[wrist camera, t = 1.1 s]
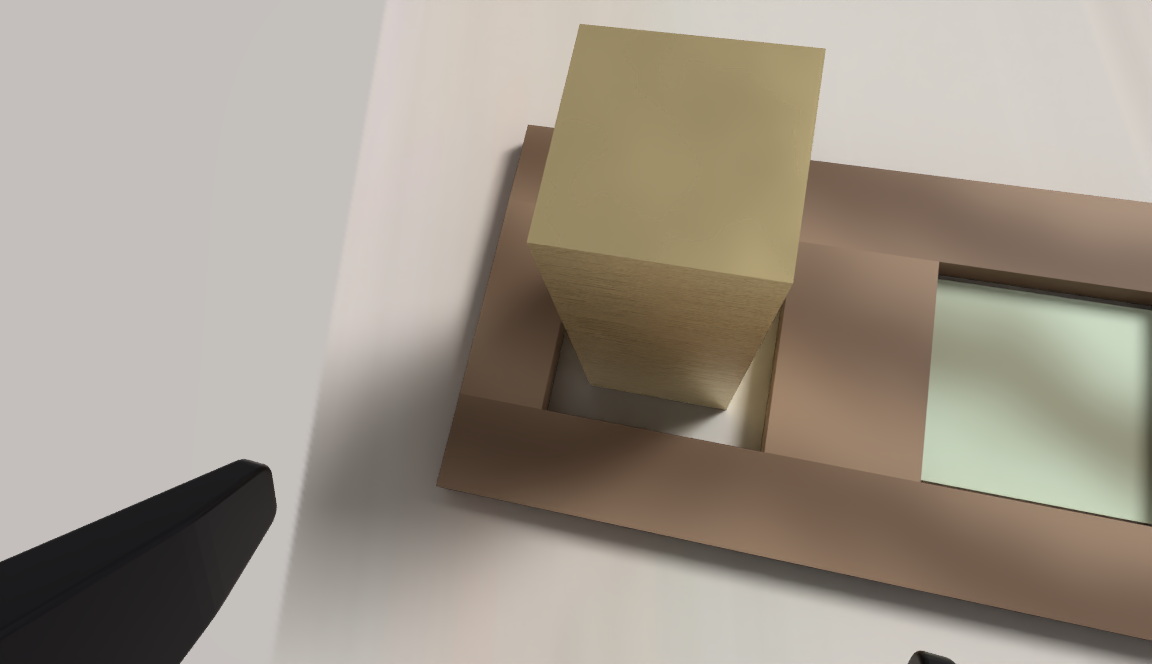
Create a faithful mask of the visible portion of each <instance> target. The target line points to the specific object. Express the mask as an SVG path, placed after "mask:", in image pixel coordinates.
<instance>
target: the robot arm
mask: <svg viewBox="0 0 1152 664" xmlns="http://www.w3.org/2000/svg"><path fill="white" fill-rule="evenodd" d="M276 508H277V505H276V498H275V491H274V484H273V478H272V472H271V470H270V468H269V467H268V466H267V465H265V464H261V463H258V462H254V461H251V460H246V459H241V460H238V461H235V462H232V463H230V464H228V465H225V466H223V467H221V468H218V469H216V470H214V471H211V472H209V473H207V474H204V475H202V476H200V477H197V478H195V479H193V480H190V481H188V482H186V483H183V484H181V485H179V486H176V487H174V488H172V489H169V490H167V491H165V492H162V493H160V494H158V495H155V496H153V497H151V498H148V499H146V500H144V501H142V502H139V503H137V504H134V505H132V506H130V507H128V508H125V509H123V510H121V511H118V512H116V513H114V514H111V515H109V516H106V517H104V518H102V519H99V520H97V521H95V522H93V523H90V524H88V525H86V526H83V527H81V528H78V529H76V530H74V531H71V532H69V533H67V534H65V535H62V536H60V537H57V538H55V539H53V540H50V541H48V542H46V543H43V544H41V545H39V546H36V547H34V548H32V549H30V550H27V551H25V552H22V553H20V554H18V555H16V556H13V557H11V558H8V559H6V560H4V561H1V562H0V664H180V663H181V661H182V660H183V659H184V657H185V656H186V655H187V653H188V652H189V651H190V649H191V648H192V647H193V645H194V644H195V643H196V641H197V640H198V639H199V637H200V636H201V635H202V633H203V632H204V630H205V629H206V628H207V627H208V625H209V624H210V622H211V621H212V620H213V618H214V617H215V615H216V614H217V612H218V611H219V609H220V608H221V606H222V605H223V603H224V602H225V600H226V598H227V597H228V595H229V593H230V592H231V590H232V588H233V587H234V585H235V584H236V582H237V580H238V579H239V577H240V575H241V574H242V572H243V570H244V569H245V567H246V565H247V563H248V562H249V560H250V559H251V557H252V555H253V554H254V552H255V550H256V549H257V547H258V546H259V544H260V542H261V541H262V539H263V537H264V536H265V534H266V532H267V531H268V529H269V527H270V526H271V524H272V522H273V520H274V517H275V514H276ZM908 664H955V663H954V662H953V661H952V660H950V659H948V658H946V657H943V656H939V655H936V654H932V653H928V652H925V651H917V652H915V653H914V654H913V655H912V657H911V658H910V660H909V662H908Z"/></svg>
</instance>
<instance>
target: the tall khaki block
mask: <svg viewBox="0 0 1152 664" xmlns="http://www.w3.org/2000/svg"><path fill="white" fill-rule="evenodd" d="M825 50H826V49H823V48H813V47H803V46H793V45H783V44H773V43H764V42H754V41H744V40H734V39H724V38H714V37H704V36H694V35H684V34H674V33H664V32H654V31H644V30H634V29H624V28H614V27H605V26H595V25H585V24H580V25H579V29H578V34H577V38H576V42H575V46H574V50H573V54H572V58H571V62H570V66H569V71H568V75H567V79H566V83H565V87H564V91H563V95H562V99H561V103H560V107H559V112H558V116H557V120H556V124H555V128H554V132H553V136H552V140H551V144H550V149H549V153H548V157H547V161H546V165H545V169H544V173H543V177H542V181H541V186H540V190H539V194H538V198H537V202H536V206H535V210H534V214H533V218H532V222H531V227H530V231H529V235H528V239H527V244H528V247H529V249H530V251H531V253H532V255H533V258H534V260H535V262H536V264H537V267H538V269H539V271H540V273H541V276H542V278H543V280H544V282H545V285H546V287H547V289H548V291H549V294H550V296H551V298H552V300H553V302H554V305H555V307H556V309H557V311H558V314H559V316H560V318H561V320H562V323H563V325H564V327H565V329H566V332H567V334H568V336H569V338H570V341H571V343H572V345H573V347H574V349H575V352H576V354H577V356H578V358H579V361H580V363H581V365H582V367H583V370H584V372H585V374H586V376H587V379H588V381H589V383H590V385H593V386H598V387H604V388H609V389H614V390H620V391H625V392H631V393H636V394H641V395H647V396H652V397H658V398H663V399H668V400H674V401H679V402H685V403H690V404H696V405H701V406H706V407H712V408H717V409H723V410H726V409H727V407H728V405H729V404H730V402H731V400H732V398H733V396H734V394H735V392H736V390H737V388H738V387H739V385H740V383H741V381H742V379H743V377H744V375H745V373H746V371H747V370H748V368H749V366H750V364H751V362H752V360H753V358H754V356H755V354H756V353H757V351H758V349H759V347H760V345H761V343H762V341H763V339H764V337H765V336H766V334H767V332H768V330H769V328H770V326H771V324H772V322H773V320H774V319H775V317H776V315H777V313H778V311H779V309H780V307H781V305H782V303H783V301H784V300H785V298H786V296H787V294H788V292H789V290H790V288H791V286H792V284H793V280H794V273H795V266H796V259H797V252H798V244H799V237H800V230H801V223H802V215H803V208H804V201H805V194H806V187H807V179H808V172H809V165H810V158H811V151H812V143H813V136H814V129H815V122H816V114H817V107H818V100H819V93H820V86H821V78H822V71H823V64H824V57H825Z"/></svg>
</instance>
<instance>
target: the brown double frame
mask: <svg viewBox="0 0 1152 664" xmlns="http://www.w3.org/2000/svg"><path fill="white" fill-rule="evenodd" d="M553 132H554V128H550V127H542V126H534V125H528V127H527V131H526V135H525V139H524V143H523V147H522V151H521V155H520V159H519V162H518V166H517V170H516V174H515V178H514V182H513V186H512V190H511V194H510V198H509V202H508V206H507V210H506V214H505V217H504V221H503V225H502V229H501V233H500V237H499V241H498V245H497V249H496V253H495V257H494V261H493V265H492V268H491V272H490V276H489V280H488V284H487V288H486V292H485V296H484V300H483V304H482V308H481V312H480V316H479V320H478V323H477V327H476V331H475V335H474V339H473V343H472V347H471V351H470V355H469V359H468V363H467V367H466V371H465V375H464V378H463V382H462V386H461V390H460V394H459V398H458V402H457V406H456V410H455V414H454V418H453V422H452V426H451V430H450V433H449V437H448V441H447V445H446V449H445V453H444V457H443V461H442V465H441V469H440V473H439V477H438V481H437V484H436V486H439V487H443V488H448V489H452V490H457V491H461V492H466V493H471V494H475V495H480V496H485V497H489V498H494V499H498V500H503V501H508V502H512V503H517V504H522V505H526V506H531V507H535V508H540V509H545V510H549V511H554V512H559V513H563V514H568V515H572V516H577V517H582V518H586V519H591V520H596V521H600V522H605V523H609V524H614V525H619V526H623V527H628V528H633V529H637V530H642V531H646V532H651V533H656V534H660V535H665V536H670V537H674V538H679V539H683V540H688V541H693V542H697V543H702V544H707V545H711V546H716V547H720V548H725V549H730V550H734V551H739V552H744V553H748V554H753V555H757V556H762V557H767V558H771V559H776V560H781V561H785V562H790V563H794V564H799V565H804V566H808V567H813V568H818V569H822V570H827V571H831V572H836V573H841V574H845V575H850V576H855V577H859V578H864V579H868V580H873V581H878V582H882V583H887V584H892V585H896V586H901V587H905V588H910V589H915V590H919V591H924V592H929V593H933V594H938V595H942V596H947V597H952V598H956V599H961V600H966V601H970V602H975V603H979V604H984V605H989V606H993V607H998V608H1003V609H1007V610H1012V611H1016V612H1021V613H1026V614H1030V615H1035V616H1040V617H1044V618H1049V619H1054V620H1058V621H1063V622H1067V623H1072V624H1077V625H1081V626H1086V627H1091V628H1095V629H1100V630H1104V631H1109V632H1114V633H1118V634H1123V635H1128V636H1132V637H1137V638H1141V639H1146V640H1151V641H1152V527H1150V526H1145V525H1140V524H1135V523H1129V522H1124V521H1119V520H1114V519H1109V518H1104V517H1098V516H1093V515H1088V514H1083V513H1078V512H1072V511H1067V510H1062V509H1057V508H1052V507H1046V506H1041V505H1036V504H1031V503H1026V502H1020V501H1015V500H1010V499H1005V498H1000V497H995V496H989V495H984V494H979V493H974V492H969V491H963V490H958V489H953V488H948V487H943V486H937V485H932V484H927V483H922V482H921V480H922V481H927V482H932V483H937V484H943V485H948V486H953V487H958V488H963V489H969V490H974V491H979V492H984V493H989V494H995V495H1000V496H1005V497H1010V498H1015V499H1021V500H1026V501H1031V502H1036V503H1041V504H1047V505H1052V506H1057V507H1062V508H1067V509H1073V510H1078V511H1083V512H1088V513H1093V514H1099V515H1104V516H1109V517H1114V518H1119V519H1125V520H1130V521H1135V522H1140V523H1145V524H1151V525H1152V310H1145V309H1138V308H1132V307H1125V306H1118V305H1111V304H1105V303H1098V302H1091V301H1084V300H1077V299H1071V298H1064V297H1057V296H1050V295H1044V294H1037V293H1030V292H1023V291H1017V290H1010V289H1003V288H996V287H990V286H983V285H976V284H969V283H962V282H956V281H949V280H942V279H938V274H939V275H945V276H952V277H959V278H966V279H973V280H979V281H986V282H993V283H1000V284H1007V285H1014V286H1020V287H1027V288H1034V289H1041V290H1048V291H1054V292H1061V293H1068V294H1075V295H1082V296H1088V297H1095V298H1102V299H1109V300H1116V301H1122V302H1129V303H1136V304H1143V305H1150V306H1152V203H1147V202H1139V201H1131V200H1123V199H1115V198H1107V197H1099V196H1091V195H1083V194H1075V193H1067V192H1059V191H1051V190H1043V189H1035V188H1027V187H1019V186H1012V185H1004V184H996V183H988V182H980V181H972V180H964V179H956V178H948V177H940V176H932V175H924V174H916V173H908V172H900V171H892V170H884V169H876V168H868V167H860V166H852V165H844V164H836V163H828V162H820V161H812V160H810V165H809V172H808V179H807V187H806V194H805V201H804V208H803V215H802V223H801V230H800V237H799V244H798V252H797V259H796V266H795V273H794V280H793V284H792V286H791V288H790V290H789V292H788V294H787V296H786V298H785V300H784V301H783V303H782V305H781V311H780V318H779V325H778V332H777V339H776V346H775V353H774V360H773V367H772V374H771V381H770V388H769V395H768V402H767V409H766V416H765V424H764V431H763V438H762V445H761V451H756V450H750V449H745V448H740V447H735V446H730V445H725V444H719V443H714V442H709V441H704V440H699V439H693V438H688V437H683V436H678V435H673V434H667V433H662V432H657V431H652V430H647V429H641V428H636V427H631V426H626V425H621V424H616V423H610V422H605V421H600V420H595V419H590V418H584V417H579V416H574V415H569V414H564V413H558V412H553V411H548V410H547V408H548V403H549V399H550V394H551V390H552V385H553V381H554V376H555V372H556V367H557V363H558V358H559V354H560V349H561V345H562V340H563V336H564V331H565V327H564V325H563V323H562V320H561V318H560V316H559V314H558V311H557V309H556V307H555V305H554V302H553V300H552V298H551V296H550V294H549V291H548V289H547V287H546V285H545V282H544V280H543V278H542V276H541V273H540V271H539V269H538V267H537V264H536V262H535V260H534V258H533V255H532V253H531V251H530V249H529V247H528V244H527V239H528V235H529V231H530V227H531V222H532V218H533V214H534V210H535V206H536V202H537V198H538V194H539V190H540V186H541V181H542V177H543V173H544V169H545V165H546V161H547V157H548V153H549V149H550V144H551V140H552V136H553Z"/></svg>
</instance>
